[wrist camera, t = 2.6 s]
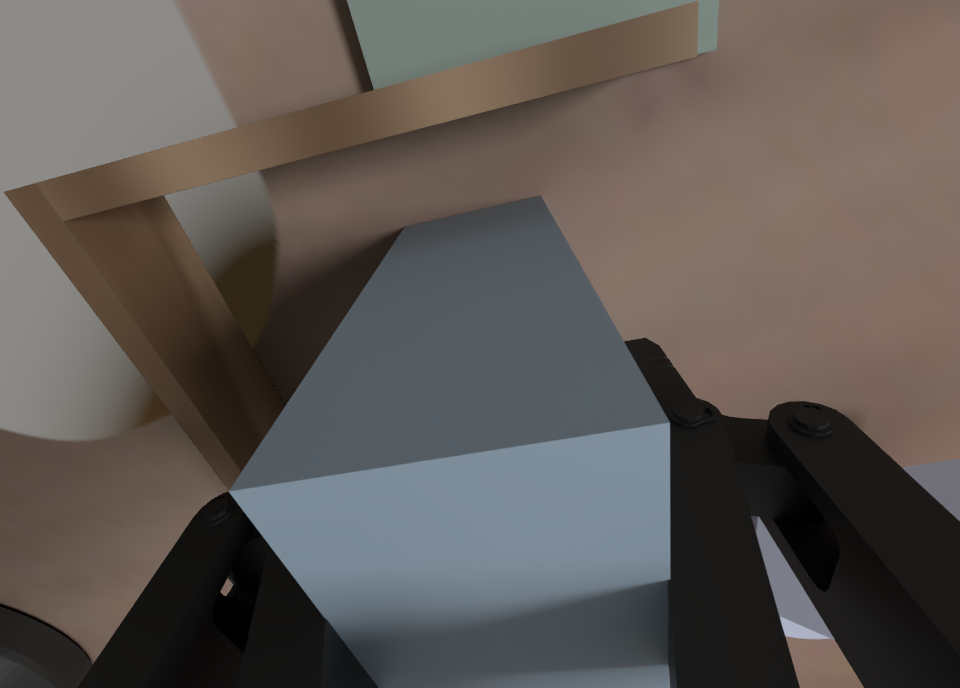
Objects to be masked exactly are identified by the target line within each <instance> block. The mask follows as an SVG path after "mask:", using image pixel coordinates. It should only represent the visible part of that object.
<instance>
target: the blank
mask: <svg viewBox="0 0 960 688" xmlns="http://www.w3.org/2000/svg"><path fill="white" fill-rule="evenodd" d="M229 493H230V494H231V495H232V497H233V498H234V499H235V501H236V502H237V503H238V505H239V506H240V507H241V508H242V510H243V511H244V512H245V514H246V515H247V516H248V518H249V519H250V520H251V522H252V523H253V524H254V526H255V527H256V528H257V530H258V531H259V532H260V534H261V535H262V536H263V537H264V539H265V540H266V541H267V543H268V544H269V545H270V547H271V548H272V549H273V551H274V552H275V553H276V555H277V556H278V557H279V559H280V560H281V561H282V563H283V564H284V565H285V566H286V568H287V569H288V570H289V572H290V573H291V574H292V576H293V577H294V578H295V580H296V581H297V582H298V584H299V585H300V586H301V588H302V589H303V590H304V591H305V593H306V594H307V595H308V597H309V598H310V599H311V601H312V602H313V603H314V605H315V606H316V607H317V609H318V610H319V611H320V613H321V614H322V615H323V617H324V618H326V619H327V620H328V622H329V623H330V624H331V626H332V627H333V628H334V630H335V631H336V632H337V633H338V635H339V636H340V637H341V639H342V640H343V641H344V643H345V644H346V645H347V647H348V648H349V649H350V651H351V652H352V653H353V655H354V656H355V657H356V659H357V660H358V661H359V663H360V664H361V665H362V667H363V668H364V669H365V671H366V672H367V673H368V674H369V676H370V677H371V678H372V680H373V681H374V682H375V684H376V685H377V686H378V688H670V677H669V656H668V580H670V422H669V420H668V418H667V416H666V415H665V413H664V411H663V409H662V408H661V406H660V404H659V402H658V401H657V399H656V397H655V395H654V394H653V392H652V390H651V388H650V387H649V385H648V383H647V381H646V380H645V378H644V376H643V374H642V373H641V371H640V369H639V367H638V366H637V364H636V362H635V360H634V359H633V357H632V355H631V353H630V351H629V350H628V348H627V346H626V344H625V343H624V341H623V339H622V337H621V336H620V334H619V332H618V330H617V329H616V327H615V325H614V323H613V322H612V320H611V318H610V316H609V315H608V313H607V311H606V309H605V308H604V306H603V304H602V302H601V301H600V299H599V297H598V295H597V294H596V292H595V290H594V288H593V287H592V285H591V283H590V281H589V279H588V278H587V276H586V274H585V272H584V271H583V269H582V267H581V265H580V264H579V262H578V260H577V258H576V257H575V255H574V253H573V251H572V250H571V248H570V246H569V244H568V243H567V241H566V239H565V237H564V236H563V234H562V232H561V230H560V229H559V227H558V225H557V223H556V222H555V220H554V218H553V216H552V215H551V213H550V211H549V209H548V207H547V206H546V204H545V202H544V200H543V199H542V197H541V196H537V197H533V198H528V199H524V200H520V201H515V202H511V203H506V204H502V205H498V206H493V207H489V208H485V209H480V210H476V211H472V212H467V213H463V214H459V215H454V216H450V217H446V218H441V219H437V220H433V221H428V222H424V223H420V224H415V225H411V226H407V227H404V229H403V230H402V232H401V233H400V235H399V236H398V238H397V239H396V241H395V242H394V244H393V245H392V247H391V248H390V250H389V251H388V253H387V254H386V256H385V257H384V259H383V260H382V262H381V263H380V265H379V266H378V268H377V269H376V271H375V272H374V274H373V275H372V277H371V278H370V280H369V281H368V283H367V284H366V286H365V287H364V289H363V290H362V292H361V293H360V295H359V296H358V298H357V299H356V301H355V302H354V304H353V305H352V307H351V308H350V310H349V311H348V313H347V314H346V316H345V317H344V319H343V320H342V322H341V323H340V325H339V326H338V328H337V329H336V331H335V332H334V334H333V335H332V337H331V338H330V340H329V341H328V343H327V344H326V346H325V347H324V349H323V350H322V352H321V353H320V355H319V356H318V358H317V359H316V361H315V362H314V364H313V365H312V367H311V368H310V370H309V372H308V373H307V375H306V376H305V378H304V379H303V381H302V382H301V384H300V385H299V387H298V388H297V390H296V391H295V393H294V394H293V396H292V397H291V399H290V400H289V402H288V403H287V405H286V406H285V408H284V409H283V411H282V412H281V414H280V415H279V417H278V418H277V420H276V421H275V423H274V424H273V426H272V427H271V429H270V430H269V432H268V433H267V435H266V436H265V438H264V439H263V441H262V442H261V444H260V445H259V447H258V448H257V450H256V451H255V453H254V454H253V456H252V457H251V459H250V460H249V462H248V463H247V465H246V466H245V468H244V469H243V471H242V472H241V474H240V475H239V477H238V478H237V480H236V481H235V483H234V484H233V486H232V487H231V489H230V490H229Z"/></svg>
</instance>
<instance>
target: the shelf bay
mask: <svg viewBox="0 0 960 688" xmlns="http://www.w3.org/2000/svg"><path fill="white" fill-rule="evenodd" d="M698 4H699V1H695V2H691V3H688V4H684V5H681V6H677V7H673V8H670V9H666V10H662V11H659V12H655V13H652V14H648V15H644V16H641V17H637V18H633V19H630V20H626V21H623V22H619V23H615V24H612V25H608V26H604V27H601V28H597V29H594V30H590V31H586V32H583V33H579V34H575V35H572V36H568V37H564V38H561V39H557V40H554V41H550V42H546V43H543V44H539V45H535V46H532V47H528V48H525V49H521V50H517V51H514V52H510V53H506V54H503V55H499V56H496V57H492V58H488V59H485V60H481V61H477V62H474V63H470V64H466V65H463V66H459V67H456V68H452V69H448V70H445V71H441V72H437V73H434V74H430V75H427V76H423V77H419V78H416V79H412V80H408V81H405V82H401V83H398V84H394V85H390V86H387V87H383V88H379V89H376V90H372V91H369V92H365V93H361V94H358V95H354V96H350V97H347V98H343V99H339V100H336V101H332V102H329V103H325V104H321V105H318V106H314V107H310V108H307V109H303V110H300V111H296V112H292V113H289V114H285V115H281V116H278V117H274V118H271V119H267V120H263V121H260V122H256V123H252V124H249V125H245V126H242V127H238V128H234V129H231V130H227V131H223V132H220V133H216V134H212V135H209V136H205V137H202V138H198V139H195V140H191V141H187V142H183V143H180V144H177V145H173V146H169V147H165V148H162V149H158V150H154V151H151V152H147V153H144V154H140V155H137V156H133V157H129V158H125V159H122V160H118V161H115V162H111V163H108V164H104V165H100V166H96V167H93V168H89V169H85V170H82V171H78V172H75V173H71V174H67V175H64V176H60V177H56V178H53V179H50V180H46V181H42V182H38V183H35V184H31V185H27V186H24V187H21V188H17V189H13V190H9V191H6V192H4V193H5V194H6V196H7V197H8V198H9V200H10V201H11V202H12V203H13V205H14V206H15V208H16V209H17V210H18V212H19V213H20V214H21V216H22V217H23V218H24V219H25V221H26V222H27V223H28V225H29V226H30V227H31V229H32V230H33V231H34V233H35V234H36V235H37V237H38V238H39V239H40V241H41V242H42V243H43V245H44V246H45V247H46V249H47V250H48V251H49V253H50V254H51V255H52V257H53V258H54V259H55V261H56V262H57V263H58V265H59V266H60V267H61V269H62V270H63V271H64V272H65V274H66V275H67V276H68V278H69V279H70V280H71V282H72V283H73V284H74V285H75V287H76V288H77V290H78V291H79V292H80V293H81V295H82V296H83V297H84V299H85V300H86V302H87V303H88V304H89V306H90V307H91V308H92V309H93V311H94V312H95V313H96V315H97V316H98V317H99V319H100V320H101V321H102V322H103V324H104V325H105V327H106V328H107V329H108V331H109V332H110V333H111V335H112V336H113V337H114V338H115V340H116V341H117V343H118V344H119V345H120V346H121V348H122V349H123V350H124V352H125V353H126V354H127V356H128V357H129V358H130V360H131V361H132V362H133V363H134V365H135V366H136V368H137V369H138V370H139V372H140V373H141V374H142V376H143V377H144V378H145V380H146V381H147V382H148V383H149V385H150V386H151V388H152V389H153V390H154V391H155V393H156V394H157V396H158V397H159V398H160V399H161V401H162V402H163V403H164V405H165V406H166V407H167V409H168V410H169V411H170V413H171V414H172V415H173V417H174V418H175V419H176V421H177V422H178V423H179V425H180V426H181V427H182V429H183V430H184V431H185V433H186V434H187V435H188V437H189V438H190V439H191V441H192V442H193V443H194V444H195V446H196V447H197V448H198V450H199V451H200V452H201V454H202V455H203V456H204V458H205V459H206V460H207V462H208V463H209V464H210V466H211V467H212V468H213V470H214V471H215V472H216V474H217V475H218V476H219V478H220V479H221V480H222V482H223V483H224V484H225V485H226V487H227V488H228V489H229V490H230V489H231V487H232V486H233V484H234V483H235V481H236V480H237V478H238V477H239V475H240V474H241V472H242V471H243V469H244V468H245V466H246V465H247V463H248V462H249V460H250V459H251V457H252V456H253V454H254V453H255V451H256V450H257V448H258V447H259V445H260V444H261V442H262V441H263V439H264V438H265V436H266V435H267V433H268V432H269V430H270V429H271V427H272V426H273V424H274V423H275V421H276V420H277V418H278V417H279V415H280V414H281V412H282V411H283V409H284V408H285V405H284V403H283V401H282V400H281V398H280V396H279V394H278V393H277V391H276V389H275V387H274V386H273V384H272V382H271V381H270V379H269V377H268V375H267V374H266V372H265V370H264V368H263V367H262V365H261V363H260V361H259V360H258V358H257V356H256V355H255V353H254V351H253V349H252V348H251V346H250V344H249V342H248V341H247V339H246V337H245V336H244V334H243V332H242V330H241V329H240V327H239V325H238V323H237V322H236V320H235V318H234V316H233V315H232V313H231V311H230V309H229V308H228V306H227V304H226V303H225V301H224V299H223V297H222V296H221V294H220V292H219V291H218V289H217V287H216V285H215V283H214V282H213V280H212V278H211V277H210V275H209V273H208V272H207V270H206V268H205V266H204V264H203V263H202V261H201V259H200V257H199V256H198V254H197V252H196V251H195V249H194V247H193V245H192V244H191V242H190V240H189V238H188V237H187V235H186V233H185V231H184V230H183V228H182V227H181V225H180V223H179V221H178V219H177V218H176V216H175V214H174V212H173V211H172V209H171V207H170V206H169V204H168V202H167V201H166V199H165V197H164V195H166V194H170V193H174V192H178V191H181V190H186V189H189V188H193V187H197V186H201V185H205V184H209V183H212V182H216V181H220V180H224V179H228V178H232V177H236V176H240V175H243V174H247V173H251V172H255V171H259V170H263V169H267V168H270V167H274V166H278V165H282V164H286V163H290V162H294V161H297V160H301V159H305V158H309V157H313V156H317V155H321V154H324V153H328V152H332V151H336V150H340V149H344V148H347V147H351V146H355V145H359V144H363V143H367V142H371V141H374V140H378V139H382V138H386V137H390V136H394V135H398V134H401V133H405V132H409V131H413V130H417V129H421V128H425V127H428V126H432V125H436V124H440V123H444V122H448V121H452V120H455V119H459V118H463V117H467V116H471V115H475V114H478V113H482V112H486V111H490V110H494V109H498V108H502V107H505V106H509V105H513V104H517V103H521V102H525V101H529V100H532V99H536V98H540V97H544V96H548V95H552V94H556V93H559V92H563V91H567V90H571V89H575V88H579V87H583V86H586V85H590V84H594V83H598V82H602V81H606V80H609V79H613V78H617V77H621V76H625V75H629V74H633V73H636V72H640V71H644V70H648V69H652V68H656V67H660V66H663V65H667V64H671V63H675V62H679V61H683V60H687V59H690V58H694V57H697V44H698Z"/></svg>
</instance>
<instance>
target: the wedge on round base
mask: <svg viewBox="0 0 960 688" xmlns="http://www.w3.org/2000/svg"><path fill="white" fill-rule="evenodd" d="M903 469H904V470H905V471H906V472H907V473H908V474H909V475H910V476H911V477H912V478H914V479H915V480H916V481H917V482H918V483H919V484H920V485H921V486H922V487H923V488H924V489H925V490H927V491H928V492H929V493H930V494H931V495H932V496H933V497H934V498H935V499H936V500H937V501H938V502H940V503H941V504H942V505H943V506H944V507H945V508H946V509H947V510H948V511H949V512H950V513H951V514H953V515H954V516H955V517H956V518H957V519H958V520H959V521H960V459H954V460H948V461H942V462H935V463H929V464H923V465H917V466H910V467H904V468H903ZM751 517H752V521H753V524H754V528H755V531H756V535H757V539H758V542H759V546H760V549H761V553H762V556H763V560H764V563H765V567H766V570H767V574H768V577H769V581H770V584H771V588H772V591H773V595H774V599H775V602H776V606H777V609H778V613H779V616H780V620H781V623H782V627H783V630H784V634H785V636H789V637H794V638H803V639H828V638H830V639H833V640H835V639H834V638H833V636H832V634H831V633H830V631H829V630H828V628H827V626H826V625H825V623H824V621H823V620H822V618H821V617H820V615H819V613H818V612H817V610H816V608H815V607H814V605H813V604H812V602H811V600H810V599H809V597H808V595H807V594H806V592H805V591H804V589H803V587H802V586H801V584H800V582H799V581H798V579H797V578H796V576H795V574H794V573H793V571H792V569H791V568H790V566H789V565H788V563H787V561H786V560H785V558H784V556H783V555H782V553H781V551H780V550H779V548H778V547H777V545H776V543H775V542H774V540H773V538H772V537H771V535H770V534H769V532H768V530H767V529H766V527H765V525H764V524H763V522H762V521H761V519H760V517H756V516H751Z"/></svg>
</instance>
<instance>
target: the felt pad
mask: <svg viewBox="0 0 960 688" xmlns="http://www.w3.org/2000/svg"><path fill="white" fill-rule="evenodd" d="M695 1H699V4H698V44H697V55H698V54H701V53H705V52H709V51H713V50H717V34H718V11H719V0H347V3H348V6H349V9H350V12H351V16H352V19H353V22H354V26H355V29H356V32H357V36H358V39H359V42H360V46H361V49H362V52H363V55H364V59H365V62H366V65H367V69H368V72H369V75H370V79H371V82H372V85H373V89H374V90H376V89H379V88H383V87H387V86H390V85H394V84H398V83H401V82H405V81H408V80H412V79H416V78H419V77H423V76H427V75H430V74H434V73H437V72H441V71H445V70H448V69H452V68H456V67H459V66H463V65H466V64H470V63H474V62H477V61H481V60H485V59H488V58H492V57H496V56H499V55H503V54H506V53H510V52H514V51H517V50H521V49H525V48H528V47H532V46H535V45H539V44H543V43H546V42H550V41H554V40H557V39H561V38H564V37H568V36H572V35H575V34H579V33H583V32H586V31H590V30H594V29H597V28H601V27H604V26H608V25H612V24H615V23H619V22H623V21H626V20H630V19H633V18H637V17H641V16H644V15H648V14H652V13H655V12H659V11H662V10H666V9H670V8H673V7H677V6H681V5H684V4H688V3H691V2H695Z"/></svg>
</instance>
